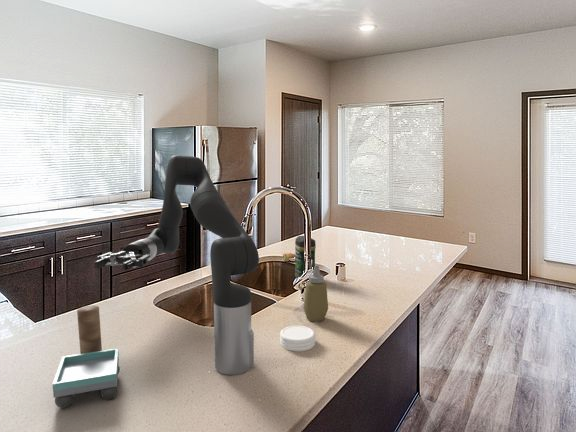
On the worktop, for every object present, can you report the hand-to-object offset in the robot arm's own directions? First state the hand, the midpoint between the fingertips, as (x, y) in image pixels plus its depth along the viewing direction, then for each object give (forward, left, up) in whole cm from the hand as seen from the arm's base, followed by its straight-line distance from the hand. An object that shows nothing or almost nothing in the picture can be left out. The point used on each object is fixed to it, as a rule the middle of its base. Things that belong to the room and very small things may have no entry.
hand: (109, 266), depth 112 cm
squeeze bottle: (-61, +5, -22) cm, 65 cm away
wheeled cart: (+4, +25, -22) cm, 34 cm away
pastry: (-79, -65, -22) cm, 105 cm away
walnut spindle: (+5, +10, -22) cm, 25 cm away
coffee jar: (-74, -35, -22) cm, 85 cm away
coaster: (-49, +19, -22) cm, 57 cm away
